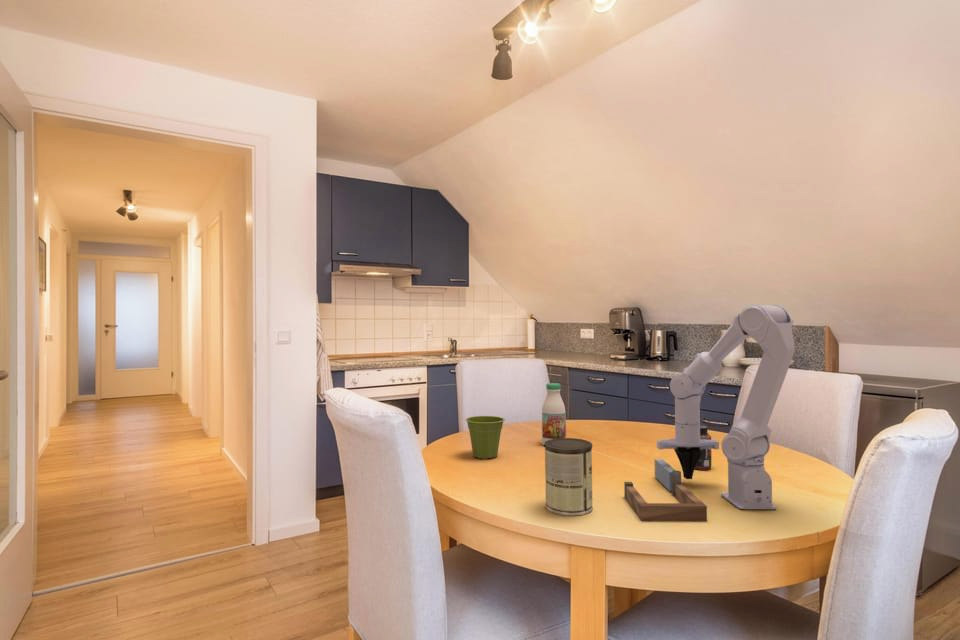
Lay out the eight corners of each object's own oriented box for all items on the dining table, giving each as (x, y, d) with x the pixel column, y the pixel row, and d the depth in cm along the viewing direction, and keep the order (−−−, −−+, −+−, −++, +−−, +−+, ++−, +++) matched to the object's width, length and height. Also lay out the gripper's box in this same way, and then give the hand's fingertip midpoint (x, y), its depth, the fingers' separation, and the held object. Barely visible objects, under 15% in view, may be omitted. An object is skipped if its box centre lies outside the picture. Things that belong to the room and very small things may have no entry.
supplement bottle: (713, 471, 142) (713, 428, 142) (690, 470, 144) (690, 428, 144) (708, 465, 148) (708, 424, 148) (686, 464, 149) (686, 423, 149)
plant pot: (511, 459, 156) (511, 420, 156) (474, 463, 152) (473, 424, 152) (495, 449, 167) (495, 414, 167) (460, 453, 163) (459, 417, 163)
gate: (678, 491, 125) (677, 472, 125) (669, 491, 125) (669, 472, 125) (662, 476, 137) (662, 458, 137) (654, 476, 137) (654, 458, 137)
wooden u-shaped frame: (707, 520, 108) (707, 493, 108) (641, 520, 108) (641, 493, 108) (679, 493, 124) (679, 470, 124) (622, 493, 125) (622, 470, 125)
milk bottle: (537, 443, 175) (537, 383, 175) (557, 441, 178) (556, 381, 178) (550, 449, 168) (549, 385, 168) (570, 446, 171) (570, 384, 171)
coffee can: (541, 499, 121) (541, 438, 121) (586, 499, 121) (586, 437, 121) (549, 516, 111) (548, 449, 111) (598, 515, 111) (597, 448, 111)
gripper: (710, 419, 135) (710, 473, 135) (652, 419, 135) (653, 473, 135) (722, 425, 128) (722, 481, 128) (661, 425, 128) (662, 481, 128)
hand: (687, 478), depth 131 cm, fingers closed
